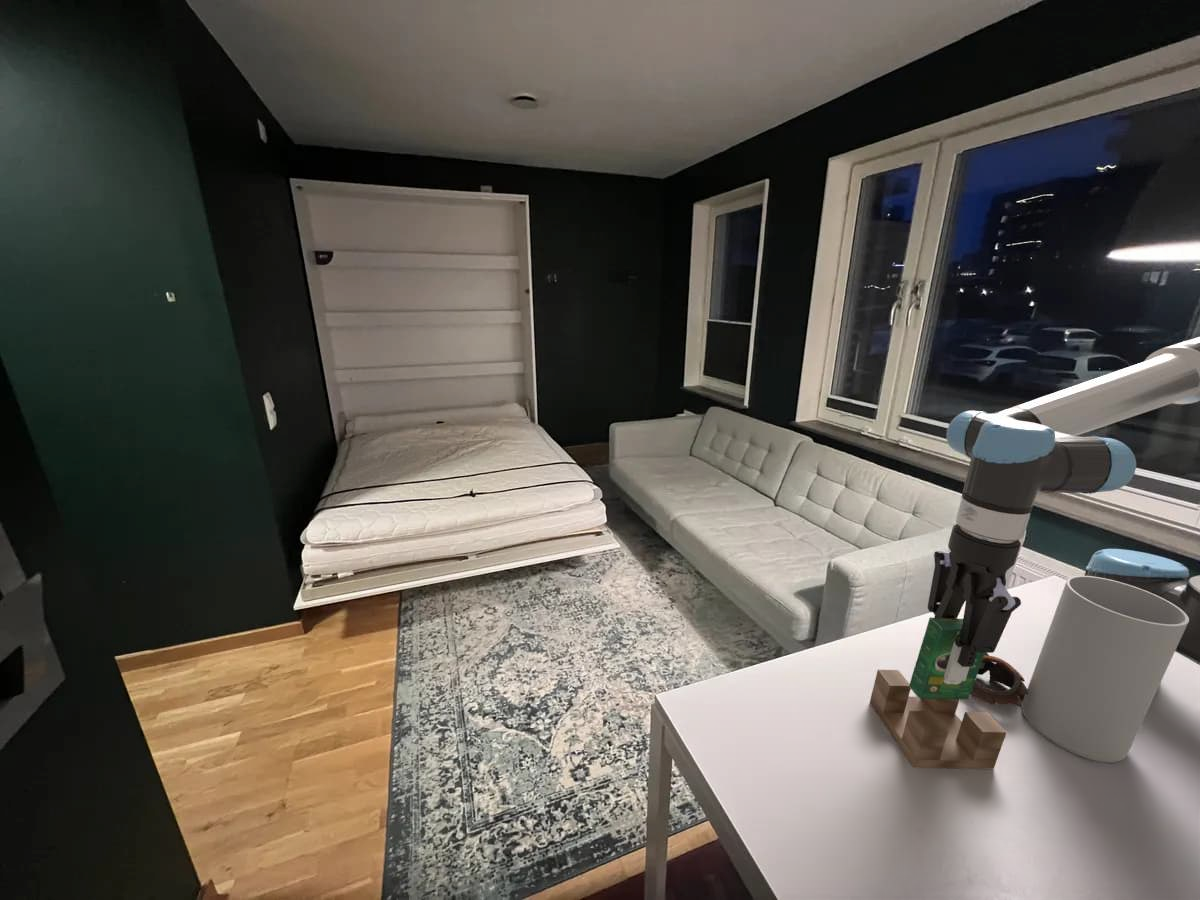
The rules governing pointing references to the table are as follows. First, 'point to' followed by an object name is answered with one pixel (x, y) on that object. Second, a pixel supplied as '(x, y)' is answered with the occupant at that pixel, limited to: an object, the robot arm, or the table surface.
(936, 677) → the coffee box
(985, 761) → the walnut cross socket
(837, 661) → the table surface
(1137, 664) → the cylinder vase
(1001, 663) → the brown ring-shaped frame
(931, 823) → the table surface
